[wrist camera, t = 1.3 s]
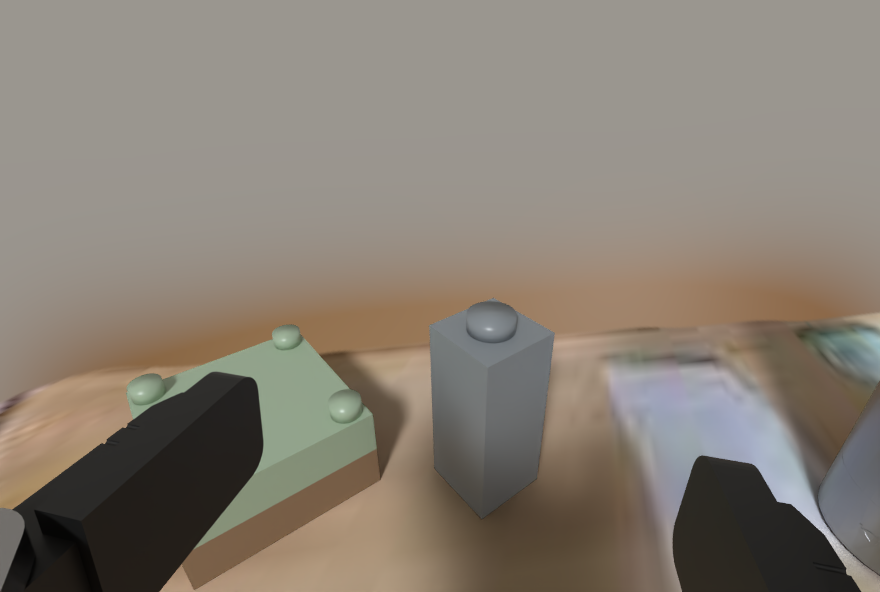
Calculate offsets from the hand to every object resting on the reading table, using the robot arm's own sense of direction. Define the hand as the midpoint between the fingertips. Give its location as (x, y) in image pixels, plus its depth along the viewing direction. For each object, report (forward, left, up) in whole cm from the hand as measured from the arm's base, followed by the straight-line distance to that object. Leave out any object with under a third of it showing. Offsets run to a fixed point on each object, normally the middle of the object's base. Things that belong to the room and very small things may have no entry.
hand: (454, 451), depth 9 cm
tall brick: (-12, -12, -20) cm, 26 cm away
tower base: (0, -22, -20) cm, 30 cm away
